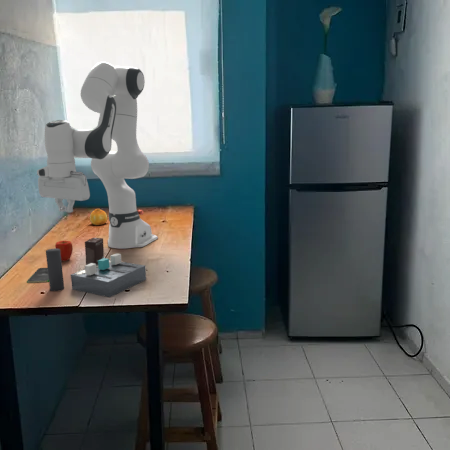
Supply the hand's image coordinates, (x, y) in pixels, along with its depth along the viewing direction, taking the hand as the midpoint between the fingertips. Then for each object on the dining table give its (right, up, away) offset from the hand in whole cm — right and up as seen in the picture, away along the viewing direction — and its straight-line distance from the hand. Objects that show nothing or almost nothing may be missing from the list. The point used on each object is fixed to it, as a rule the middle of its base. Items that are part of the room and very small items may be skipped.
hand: (66, 211), depth 179 cm
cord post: (-1, -25, -6) cm, 26 cm away
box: (+8, -21, +10) cm, 25 cm away
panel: (+15, -24, -3) cm, 29 cm away
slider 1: (+10, -20, -8) cm, 24 cm away
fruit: (-9, -4, +83) cm, 84 cm away
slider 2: (+16, -17, +2) cm, 24 cm away
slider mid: (+13, -19, -3) cm, 23 cm away
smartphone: (-10, -23, +8) cm, 26 cm away
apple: (-8, -18, +26) cm, 33 cm away
